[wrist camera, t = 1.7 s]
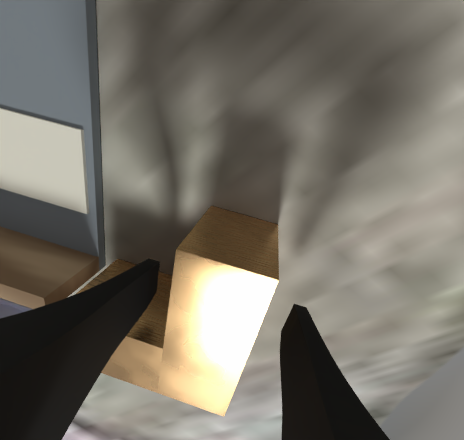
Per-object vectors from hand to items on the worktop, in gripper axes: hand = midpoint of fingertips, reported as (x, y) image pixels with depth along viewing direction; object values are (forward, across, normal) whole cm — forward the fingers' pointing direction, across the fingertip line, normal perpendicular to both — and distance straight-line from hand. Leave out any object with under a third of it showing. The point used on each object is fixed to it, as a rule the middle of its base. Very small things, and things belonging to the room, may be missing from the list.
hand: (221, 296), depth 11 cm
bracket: (+3, +3, +2) cm, 5 cm away
